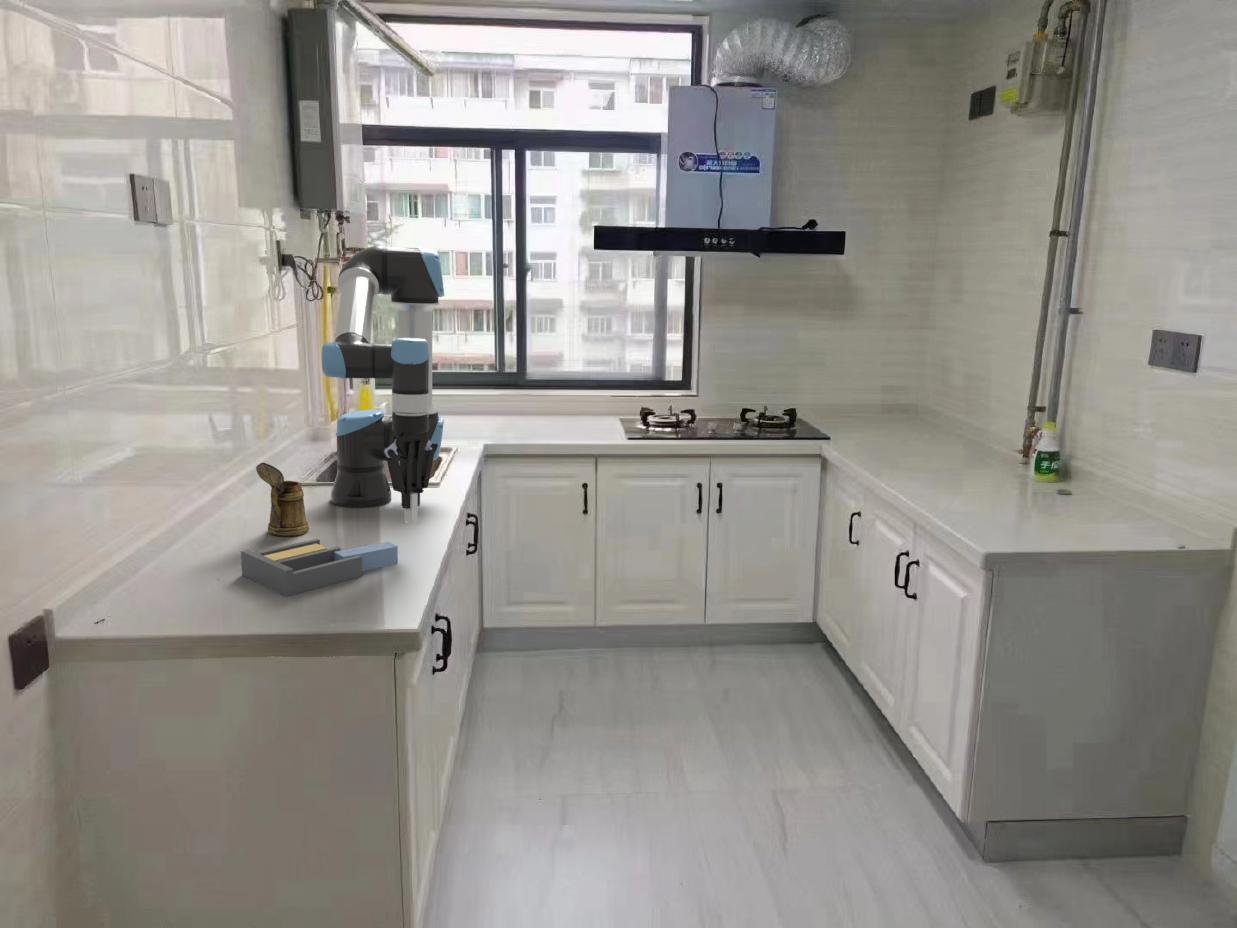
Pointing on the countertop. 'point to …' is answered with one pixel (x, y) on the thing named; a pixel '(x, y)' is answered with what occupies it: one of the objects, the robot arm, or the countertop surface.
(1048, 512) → the countertop surface
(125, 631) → the countertop surface
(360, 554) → the bar blue
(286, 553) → the bar ochre
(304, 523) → the wooden mug
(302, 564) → the comb rack
